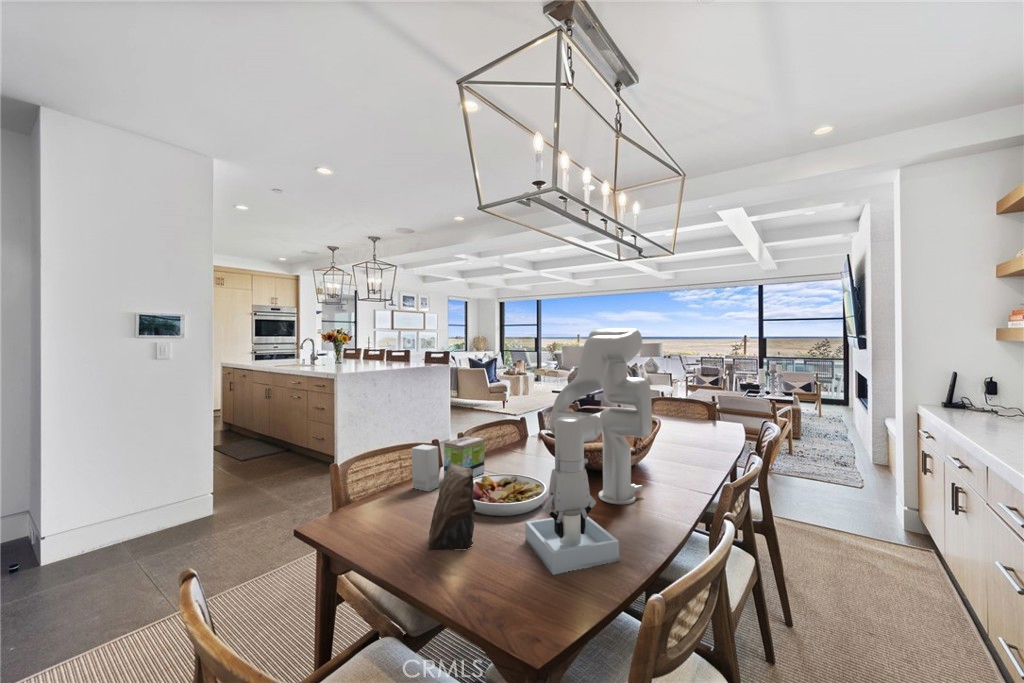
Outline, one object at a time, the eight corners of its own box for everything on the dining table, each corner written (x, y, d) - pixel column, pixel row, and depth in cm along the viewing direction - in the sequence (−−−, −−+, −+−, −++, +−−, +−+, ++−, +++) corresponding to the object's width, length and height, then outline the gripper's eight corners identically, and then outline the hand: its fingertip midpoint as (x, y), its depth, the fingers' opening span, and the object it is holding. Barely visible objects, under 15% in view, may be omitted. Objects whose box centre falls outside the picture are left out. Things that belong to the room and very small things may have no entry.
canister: (574, 534, 111) (574, 501, 111) (585, 544, 105) (585, 509, 105) (555, 537, 109) (555, 504, 109) (565, 548, 103) (564, 512, 103)
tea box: (462, 483, 159) (462, 445, 159) (443, 479, 164) (443, 442, 164) (485, 473, 172) (485, 437, 172) (466, 469, 177) (466, 435, 177)
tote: (583, 530, 118) (583, 512, 118) (619, 561, 101) (619, 541, 101) (525, 540, 113) (525, 521, 113) (552, 574, 96) (552, 553, 96)
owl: (444, 529, 120) (443, 460, 120) (485, 533, 117) (485, 463, 117) (425, 550, 107) (425, 474, 107) (471, 555, 105) (470, 477, 105)
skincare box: (439, 487, 155) (439, 446, 155) (427, 492, 149) (427, 450, 149) (423, 483, 159) (423, 443, 159) (411, 488, 153) (410, 447, 154)
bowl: (514, 481, 162) (514, 461, 162) (564, 506, 137) (564, 482, 137) (444, 497, 145) (444, 475, 145) (487, 528, 120) (487, 502, 120)
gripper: (591, 457, 113) (591, 523, 113) (533, 464, 108) (534, 532, 108) (605, 465, 106) (606, 535, 106) (545, 472, 101) (545, 546, 101)
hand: (570, 533), depth 107 cm, fingers closed on canister, 5 cm apart
